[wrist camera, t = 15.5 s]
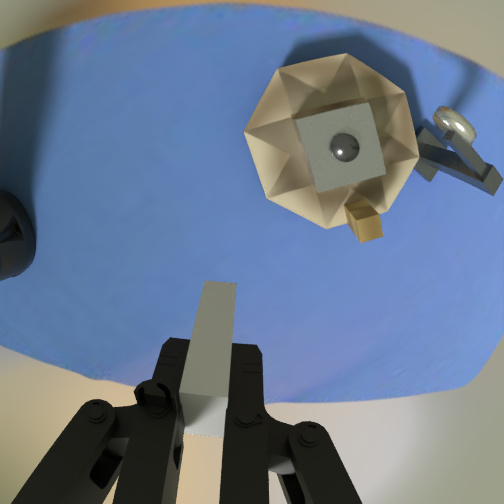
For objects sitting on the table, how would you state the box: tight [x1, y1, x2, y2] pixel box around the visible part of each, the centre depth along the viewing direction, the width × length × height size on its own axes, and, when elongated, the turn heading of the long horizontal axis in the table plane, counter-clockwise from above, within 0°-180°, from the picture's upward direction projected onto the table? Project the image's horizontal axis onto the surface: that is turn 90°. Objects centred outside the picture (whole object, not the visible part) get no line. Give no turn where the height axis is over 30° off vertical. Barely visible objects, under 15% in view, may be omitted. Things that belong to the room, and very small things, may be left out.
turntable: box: [244, 53, 419, 243], centre depth 27 cm, size 18×18×7 cm
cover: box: [292, 102, 386, 193], centre depth 27 cm, size 7×7×5 cm
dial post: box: [414, 106, 503, 196], centre depth 25 cm, size 10×5×15 cm, turn 59°
